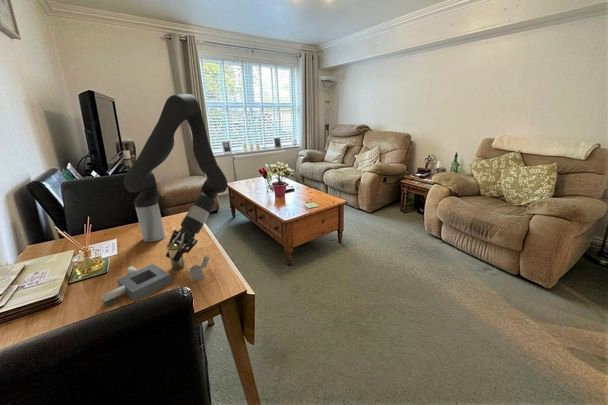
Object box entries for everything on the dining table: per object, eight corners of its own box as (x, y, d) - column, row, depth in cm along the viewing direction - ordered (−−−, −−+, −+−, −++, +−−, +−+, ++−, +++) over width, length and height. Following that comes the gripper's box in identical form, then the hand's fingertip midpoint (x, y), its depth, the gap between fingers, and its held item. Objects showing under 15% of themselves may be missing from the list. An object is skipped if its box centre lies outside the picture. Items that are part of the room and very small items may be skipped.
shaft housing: (93, 292, 90) (90, 283, 89) (148, 267, 104) (146, 259, 103) (113, 312, 80) (110, 302, 79) (171, 282, 94) (169, 274, 93)
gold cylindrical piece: (169, 267, 103) (164, 245, 100) (180, 262, 107) (176, 240, 104) (175, 271, 101) (170, 249, 98) (187, 265, 104) (183, 243, 101)
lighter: (191, 281, 94) (187, 261, 92) (191, 278, 96) (187, 259, 93) (212, 276, 97) (209, 256, 95) (211, 273, 99) (208, 254, 96)
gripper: (178, 211, 107) (153, 250, 102) (198, 218, 99) (173, 261, 94) (192, 219, 113) (169, 257, 108) (212, 227, 105) (189, 268, 100)
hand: (171, 259), depth 101 cm, fingers closed on gold cylindrical piece, 4 cm apart
